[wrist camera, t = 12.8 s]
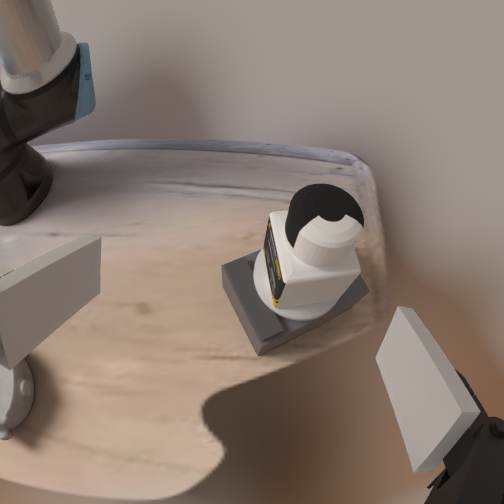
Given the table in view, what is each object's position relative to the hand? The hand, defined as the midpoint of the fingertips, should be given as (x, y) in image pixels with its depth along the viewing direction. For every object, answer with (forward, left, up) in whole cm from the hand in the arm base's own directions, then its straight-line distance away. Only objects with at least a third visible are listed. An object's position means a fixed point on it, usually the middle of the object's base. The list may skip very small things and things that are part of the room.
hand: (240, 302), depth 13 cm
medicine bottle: (-6, +10, -19) cm, 22 cm away
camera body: (-6, +10, -26) cm, 29 cm away
